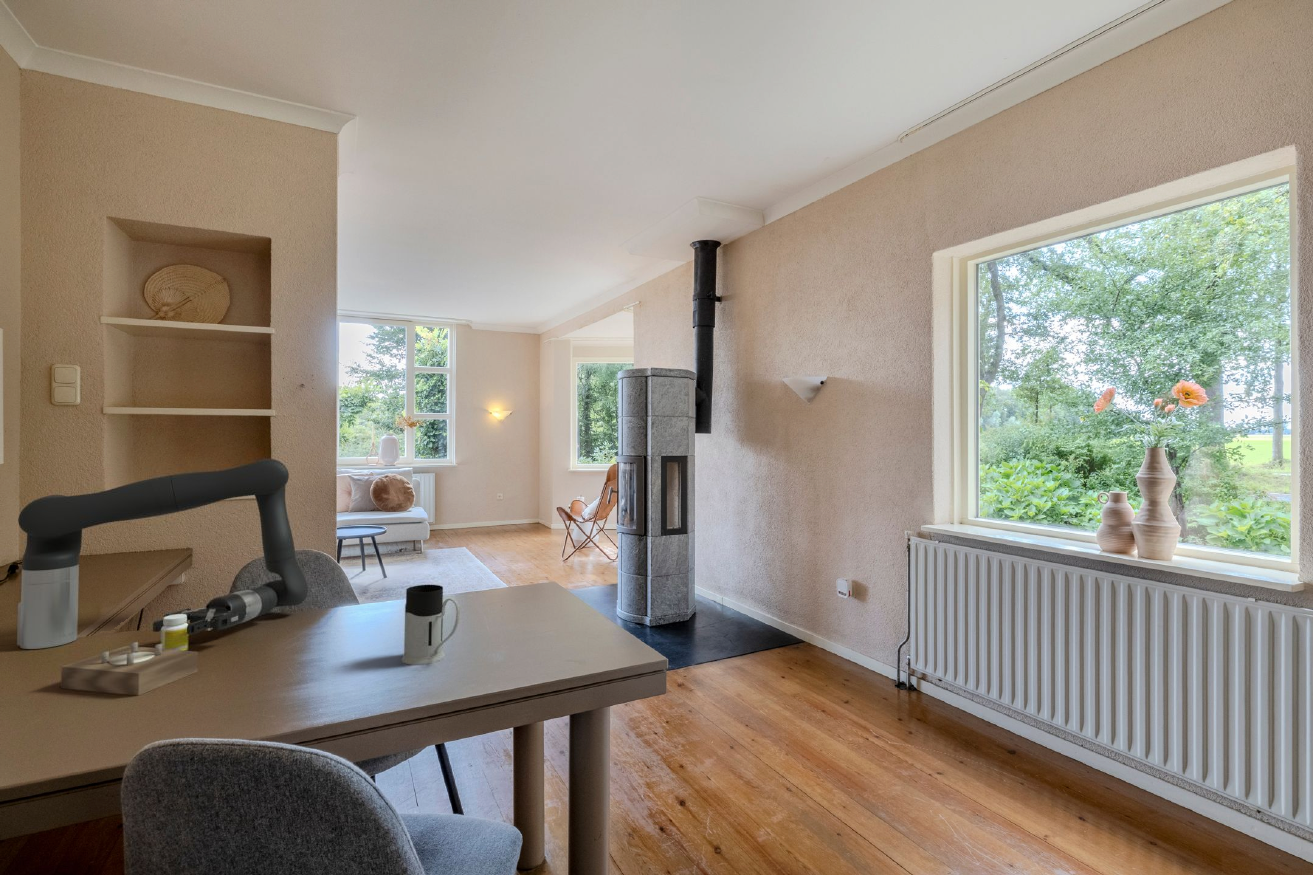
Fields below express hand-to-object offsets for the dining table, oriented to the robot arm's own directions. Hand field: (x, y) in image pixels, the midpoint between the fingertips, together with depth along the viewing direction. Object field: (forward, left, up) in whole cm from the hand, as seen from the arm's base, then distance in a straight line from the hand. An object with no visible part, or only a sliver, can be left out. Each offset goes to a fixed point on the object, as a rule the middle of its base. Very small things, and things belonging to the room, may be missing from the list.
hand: (171, 628), depth 133 cm
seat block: (+4, -12, -6) cm, 14 cm away
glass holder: (+55, +10, -6) cm, 56 cm away
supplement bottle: (0, +1, -6) cm, 6 cm away
